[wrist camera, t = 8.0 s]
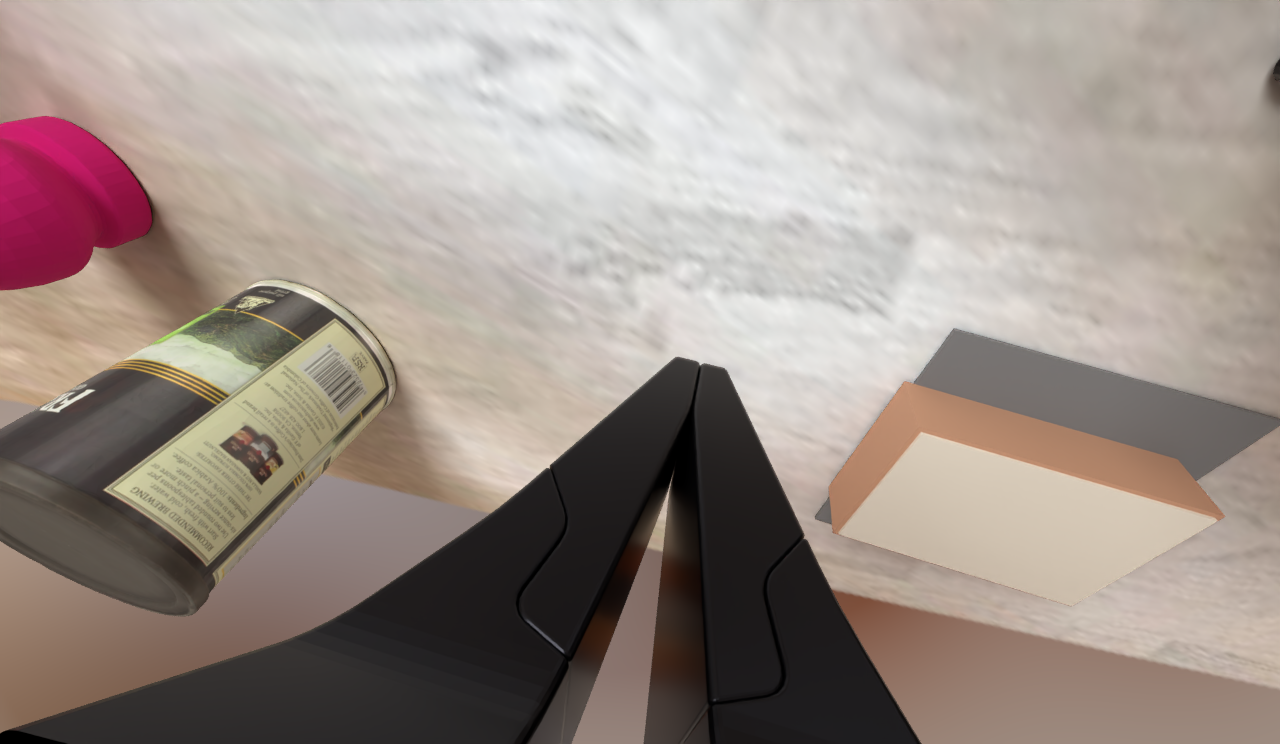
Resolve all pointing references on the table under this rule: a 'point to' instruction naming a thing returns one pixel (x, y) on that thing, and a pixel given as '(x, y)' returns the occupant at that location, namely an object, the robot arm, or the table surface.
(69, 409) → the coffee can
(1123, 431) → the placemat
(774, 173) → the table surface
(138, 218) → the pepper mill
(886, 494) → the beige rectangular block
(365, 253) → the table surface
